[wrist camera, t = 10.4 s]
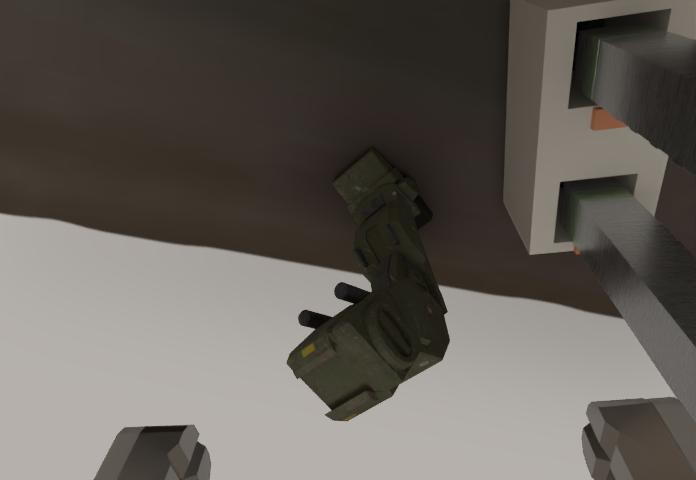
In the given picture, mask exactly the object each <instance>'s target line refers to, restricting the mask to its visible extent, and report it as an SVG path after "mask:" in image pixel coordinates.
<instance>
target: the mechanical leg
mask: <svg viewBox="0 0 696 480" xmlns="http://www.w3.org/2000/svg"><path fill="white" fill-rule="evenodd" d="M333 187H334V188H335V189H336V190H337V192H338V193H339V194H340V195H341V196H342V198H343V199H344V200H345V201H346V203H347V204H348V206H347V207H346V208H347V209H348V210H349V211H350V213H351V214H352V215H353V216H354V223H355V225H356V226H357V227H358V230H357V231H356V233H355V242H354V249H353V255H354V257H355V259H356V261H357V263H358V265H359V267H360V269H361V271H362V273H363V275H364V276H365V277H366V278H367V279H368V280H369V281H370V283H371V288H372V292H368V291H365V290H363V289H360V288H357V287H354V286H352V285H349V284H346V283H343V282H341V283H339V284H337V286H336V287H335V291H334V292H335V296H336V297H337V298H338V299H342V300H344V301H348V302H351V303H354V304H353V305H350V306H349V307H347V308H346V309H344V310H343V311H341V312H340V313H339V314H337V315H336V316H334V317H330V316H326V315H323V314H319V313H315V312H312V311H308V310H303V311H302V312H301V313H300V315H299V317H298V319H299V323H300V324H301V325H302V326H306V327H311V328H314V329H315V330H314V331H313V332H312V333H311V334H310V335H309V336H308V337H307V338H306V339H305V340H304V341H303V342H302V343H300V344H299V345H298V346H297V347H296V348H295V349H294V350H293V351H292V352H291V353H290V355H289V358H288V360H287V365H288V366H289V367H290V368H291V369H292V370H293V373H294V375H295V376H296V378H297V379H298V378H301V379H302V380H303V381H304V382H305V383H306V384H307V385H308V386H309V387H310V388H311V389H312V390H313V391H314V392H315V393H316V394H317V395H318V396H319V398H321V400H323V401H324V402H325V403H326V405H327V406H328V407H329V408H330V409H331V410H332V411H331V412H328V413H327V414H325V415H326V416H327V417H329V418H330V419H332V420H335V421H348V420H350V419H352V418H354V417H355V416H357V415H359V414H361V413H363V412H365V411H366V410H368V409H370V408H372V407H374V406H375V405H377V404H379V403H381V402H383V401H384V400H386V399H388V398H390V397H392V396H393V394H394V392H395V391H396V389H397V387H398V385H399V384H401V383H403V382H404V381H406V380H408V379H410V378H412V377H413V376H415V375H417V374H419V373H420V372H422V371H424V370H426V369H428V368H429V367H431V366H433V365H435V364H436V363H438V362H440V361H441V360H443V357H444V355H445V352H446V349H447V347H448V344H449V341H450V339H449V334H448V330H447V326H446V322H445V318H444V314H446V313H447V312H448V311H447V308H446V306H445V303H444V300H443V297H442V294H441V292H440V290H439V287H438V285H437V282H436V280H435V277H434V275H433V272H432V269H431V266H430V264H429V261H428V258H427V255H426V253H425V250H424V247H423V245H422V242H421V239H420V236H419V233H418V229H419V228H421V227H422V226H424V225H425V224H426V223H428V222H429V221H430V220H432V215H433V213H432V212H431V211H430V209H429V208H428V206H427V205H426V204H425V202H424V201H423V200H422V198H421V197H420V196H419V194H418V193H419V191H418V188H417V186H416V183H415V182H414V181H413V180H412V179H411V178H410V177H406V178H403V176H402V174H401V173H400V172H399V171H398V170H397V169H396V167H395V168H393V167H392V166H391V165H390V164H389V163H388V162H387V161H386V160H385V159H384V158H383V157H382V156H381V154H380V153H379V152H378V151H377V150H376V149H375V148H372V149H370V150H369V151H368V153H366V154H365V155H363V156H362V157H361V158H360V159H359V160H357V161H356V162H355V163H354V164H353V165H351V166H350V167H349V168H348V169H347V170H345V171H344V173H343V174H341V175H340V176H338V177H337V178H336V179H335V181H334V183H333Z"/></svg>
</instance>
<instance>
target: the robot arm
mask: <svg viewBox="0 0 696 480" xmlns="http://www.w3.org/2000/svg"><path fill="white" fill-rule="evenodd" d="M586 414H587V417H588V419H589V421H590V423H589V424H588V425H587V426H585V427H584V428H583V434H582V446H583V453H584V456H585V460H586V464H587V467H588V469H589V472H590V474H591V477H592V478H593V479H594V480H696V423H695V422H694V420H693V419H692V417H691V416H690V414H689V413H688V411H687V410H686V409H685V407H684V406H683V404H682V403H681V402H680V401H679V400H678V399H676V398H674V397H668V398H667V397H666V398H653V399H643V398H640V399H625V400H612V401H597V402H591V403H590V404H589V405H588V408H587V412H586ZM198 437H199V433H198V431H197V429H196V428H195V426H194V425H175V426H144V427H126V428H124V429H123V430H122V431H120V432H119V433H118V435H117V436H116V438H115V440H114V442H113V444H112V446H111V448H110V449H109V452H108V454H107V455H106V457H105V459H104V461H103V463H102V465H101V467H100V469H99V471H98V473H97V475H96V477H95V478H94V480H209V479H210V469H211V461H210V456H209V452H208V450H207V448H206V447H205V446H204V445H202V444H200V443H199V442H197V439H198Z"/></svg>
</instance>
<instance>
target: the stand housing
mask: <svg viewBox="0 0 696 480" xmlns="http://www.w3.org/2000/svg"><path fill="white" fill-rule="evenodd" d="M602 18H604V24H603V27H608V26H615V25H622V24H629V23H636V22H638V23H642V24H645V25H648V26H651V27H656V28H659V29H663V30H665V31H668V32H671V33H674V34H677V35H681V36H684V37H687V38H690V39H694V40H696V0H510V21H509V49H508V77H507V105H506V133H505V161H504V189H503V203H504V205H505V207H506V209H507V211H508V213H509V215H510V217H511V219H512V221H513V223H514V225H515V227H516V229H517V231H518V233H519V235H520V237H521V239H522V241H523V243H524V245H525V247H526V249H527V251H528V253H529V255H533V254H543V253H554V252H565V251H574V252H575V254H581V253H580V252H579V250H578V249H577V247H576V246H575V244H573V242H572V241H571V239H570V238H569V236H568V234H567V232H566V231H565V230H564V228H563V227H562V225H561V224H560V213H561V204H562V195H563V188H560V182H564V181H573V180H582V179H583V180H587V179H596V178H605V177H614V178H615V179H616V180H617V181H618V182H619V183H620V184H621V185H622V186H623V187H624V188H626V189H627V190H628V191H629V192H630V193H631V194H632V195H633V196H634V197H635V198H636V199H637V200H638V201H639V202H640V203H641V204H642V205H643V206H644V207H645V208H646V209H647V210H648V211H649V212H650V213H651V214H652V215H653V216H654V215H655V211H656V206H657V202H658V198H659V194H660V189H661V185H662V181H663V177H664V172H665V168H666V164H667V160H668V155H667V154H665V153H664V152H663V151H661V150H660V149H656V148H655V147H653V146H652V145H651V144H650V142H649V141H648V140H646V139H645V138H643V137H642V136H641V135H639V134H638V133H634V132H633V131H632V130H630V127H628V126H627V125H625V124H624V123H623V122H621V121H620V120H617V119H615V118H614V117H612V114H610V113H609V112H608V111H606V110H605V109H603V108H602V107H601V106H599V105H598V104H597V103H595V102H594V101H592V100H590V99H589V98H587V97H586V96H585V95H584V94H583V93H581V92H580V91H579V90H577V89H576V88H574V87H573V82H574V73H575V70H574V71H572V66H573V56H574V47H575V37H576V28H577V22H581V21H588V20H595V19H602Z"/></svg>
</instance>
